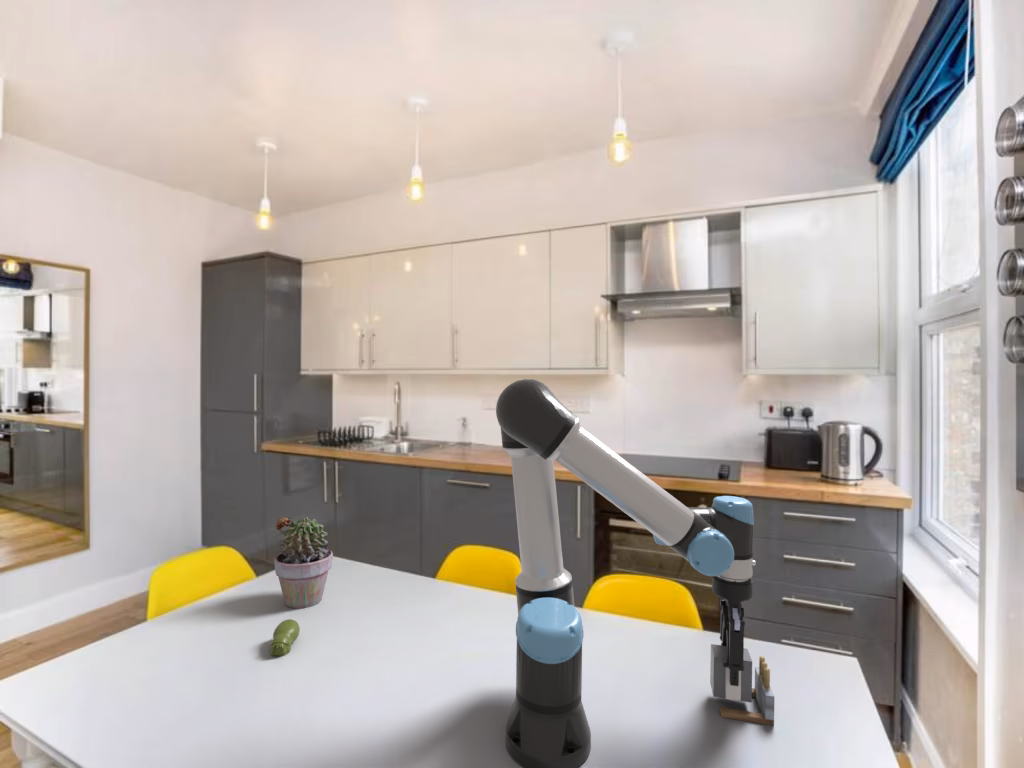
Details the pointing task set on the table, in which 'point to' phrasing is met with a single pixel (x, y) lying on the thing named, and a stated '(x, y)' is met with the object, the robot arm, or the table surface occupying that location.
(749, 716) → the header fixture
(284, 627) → the green rounded oblong piece
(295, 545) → the potted plant
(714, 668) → the plug block
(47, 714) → the table surface
